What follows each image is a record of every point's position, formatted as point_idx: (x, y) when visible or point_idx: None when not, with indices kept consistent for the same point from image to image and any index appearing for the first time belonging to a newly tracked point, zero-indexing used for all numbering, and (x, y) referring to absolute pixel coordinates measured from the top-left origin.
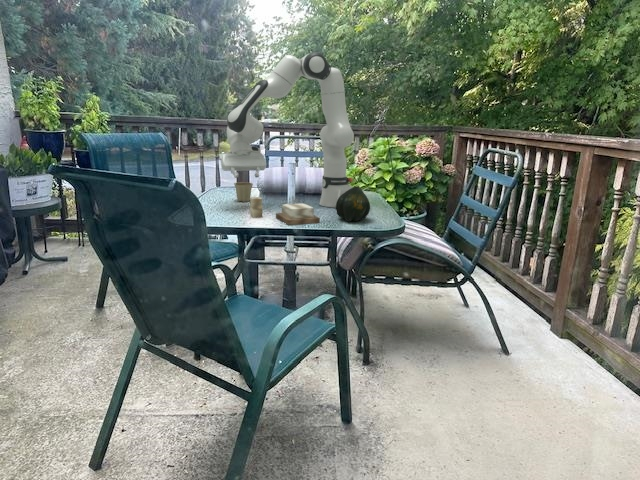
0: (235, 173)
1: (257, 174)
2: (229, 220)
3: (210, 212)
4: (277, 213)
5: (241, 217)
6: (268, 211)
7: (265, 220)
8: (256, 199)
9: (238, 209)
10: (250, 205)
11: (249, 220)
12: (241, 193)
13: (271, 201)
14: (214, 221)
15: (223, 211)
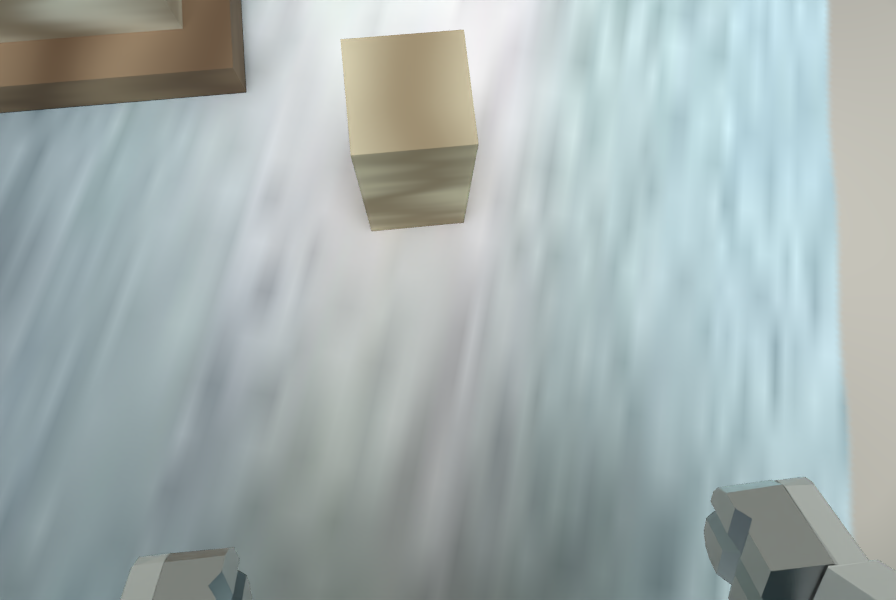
0: (833, 528)
1: (177, 569)
2: (679, 84)
3: (846, 458)
4: (220, 54)
5: (560, 174)
6: (230, 391)
7: (368, 20)
8: (420, 37)
9: (537, 564)
10: (470, 183)
11: (507, 48)
12: None
13: None
14: (808, 75)
15: (710, 484)
